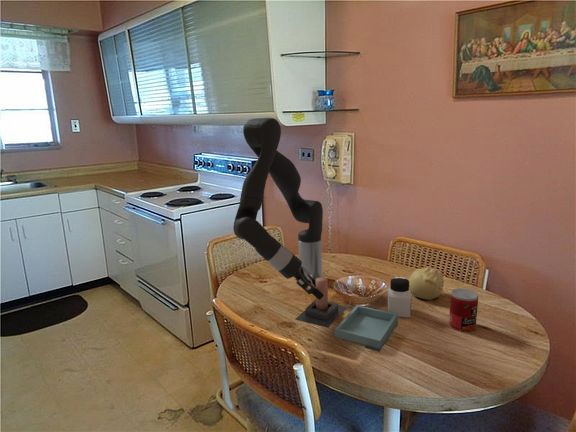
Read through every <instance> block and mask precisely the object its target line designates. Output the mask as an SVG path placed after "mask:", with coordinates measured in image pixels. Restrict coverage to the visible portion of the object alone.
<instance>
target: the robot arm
mask: <svg viewBox="0 0 576 432" xmlns="http://www.w3.org/2000/svg"><path fill="white" fill-rule="evenodd" d="M242 132H243V133H242V134H243V137H244V140H245V142H246V144H247V145H248V147H250V149H251V151H253V153H254V154H255V155H256V156H257V160H256V161H255V163H254V164H253V166H252V168H250V170H249V172H248V173H247V175H246V176H245V178H244V181H243V183H242V188H241V192H240V200H239V205H238V207H237V208H238V209H237V210H236V214H235V217H234V222H233V229H232V230H233V233H234V235H235V236H236V237H237V239H240V240H244V241H246V242H247V243H248V244H249V245H250V246H252V247H253V248H254V249H255V251H256V253H257V254H258V255H259V256H261V257H262V258H263V260H265V261H266V262H267V263H269V265H271V267H272V268H274V269H275V270H276V271H277V272H278V273H280V275H282V276H283V277H284V278H285V279H287V280H288V279H291V278H294V280H295V281H296V284H297V285H298V286H299V287H300V288H301V289H302V290H304V291H305V292H306V293H307V294H308V295H313V296H314V297H315V299H316V298H317V299H319V300H320V299H321V298H322V297H323V296H324V295H323V293H322V292H320V291H319V290H318V289H317V288H316V279H317V278H320V277H323V270H322V269H323V261H322V259H323V257H322V233H323V217H324V216H323V215H324V210H323V205H322V203H321V201H318V200H313V199H311V200H310V199H304V198H302V196H301V194H300V193H299V190H300V188H301V184H302V183H301V182H302V177H301V175H300V172H299V171H298V169H297V168H296V166H295V163H293V162H292V160H290V159H289V158H288V157H287V156H285V155H284V154H282V153H281V152H279V151H278V147H279V144H280V140H281V135H282V128H281V124H280V122H279V121H278V120H277V119H276V118H274V117H260V118H257V117H256V118H250V119H248V120H247V121H245V122H244V125H243V128H242ZM269 175H270V177H271V179H272V180H273V182H274V183H275V185H276V187H277V188H278V190H279V191H280V192H281V194H282V196H283V198H284V200H285V201H286V204H287V206H288V208H289V210H290V212H291V215H292V217H293V218H294V219H295V221H297V222H298V223H303V224H308V229H304V230H301V231H299V232H298V234H297V239H298V240H297V241H298V242H297V245H298V256H296V255H295V254H294V253H293V252H292V251H291V250H290V249H288V248H287V247H286V246H284V245H283V244H281V243H280V242H279V241H278V240H277V239H276V238H274V237H273V236H272V235H271V234H270V233H269V232H268V231H267V230H266V229H265V227H264V226H263V225H262V224H261V223H260V222H259V221H258V220H257V216H258V213H259V212H260V209H261V207H262V204H263V199H264V193H265V188H266V184H267V180H268V176H269ZM309 287H310V288H309Z"/></svg>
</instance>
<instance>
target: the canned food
mask: <svg viewBox="0 0 576 432" xmlns="http://www.w3.org/2000/svg"><path fill="white" fill-rule="evenodd" d="M478 306H479V294H478V293H477V292H476V291H474V290H472V289H468V288H455V289H452V290H451V293H450V305H449V320H448V321H449V326H450V327H451V326H452V327H451V328H453V329H454V328H455V329H454V330H456V329H458V330H457V331H459V330H461V331H460V332H464V331H469V332H472V330H473V331H474V330H475V328H476V327H477V318H478V317H477V316H478V308H479V307H478Z"/></svg>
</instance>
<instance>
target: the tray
mask: <svg viewBox="0 0 576 432" xmlns="http://www.w3.org/2000/svg"><path fill="white" fill-rule="evenodd" d="M398 325H399V317H398V314H396V313H391V312H388V310H381V309H378V308H377V309H376V308H372V307H366V306H363V305H358V304H356V305H355V306H354V307H353V308H352V309H351V311H350V312H349V313H348V314H347V315H346V316H345V317H344V318H343V320H341V321H340V323H338V325H337V326H336V327H335V328H334V335H333V337H334V338H337V339H341V340H343V341H344V340H345V341H347V342H352V343H356V344H360V345H364V349H367V350H371V351H375V352H378V353H381V351H382V349H383V348H384V346H385V344H386V343H387V342H388V340H389V339H390V337H391V335H392V334H393V333H394V331H395V330H396V327H397V326H398Z"/></svg>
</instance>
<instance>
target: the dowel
mask: <svg viewBox="0 0 576 432" xmlns="http://www.w3.org/2000/svg"><path fill="white" fill-rule="evenodd" d="M328 282H329V280H328V278H327V277H323V276H322V277H320V278H317V279H316V288H317V289H318V290H319V291H320V292H322V293H323V295H324V296H323V297H322V298H321V299H320V300H319V299H317V298H316V297H315V300H316V309H319V310H323V311H326V310H327V309H328V302H329V294H328V293H329V288H328V287H329V283H328Z"/></svg>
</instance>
